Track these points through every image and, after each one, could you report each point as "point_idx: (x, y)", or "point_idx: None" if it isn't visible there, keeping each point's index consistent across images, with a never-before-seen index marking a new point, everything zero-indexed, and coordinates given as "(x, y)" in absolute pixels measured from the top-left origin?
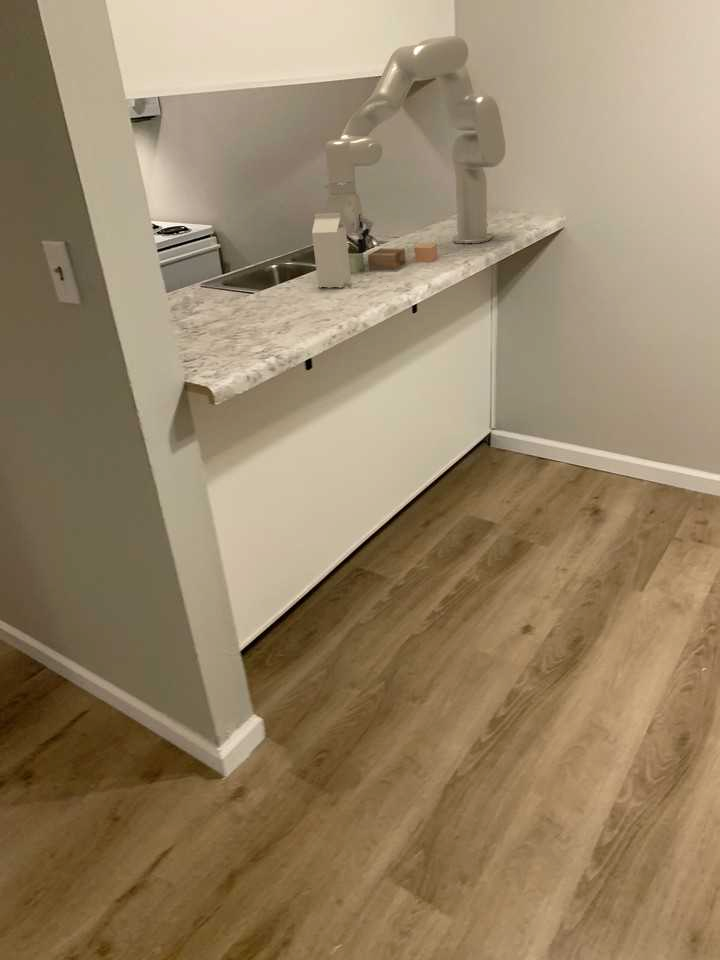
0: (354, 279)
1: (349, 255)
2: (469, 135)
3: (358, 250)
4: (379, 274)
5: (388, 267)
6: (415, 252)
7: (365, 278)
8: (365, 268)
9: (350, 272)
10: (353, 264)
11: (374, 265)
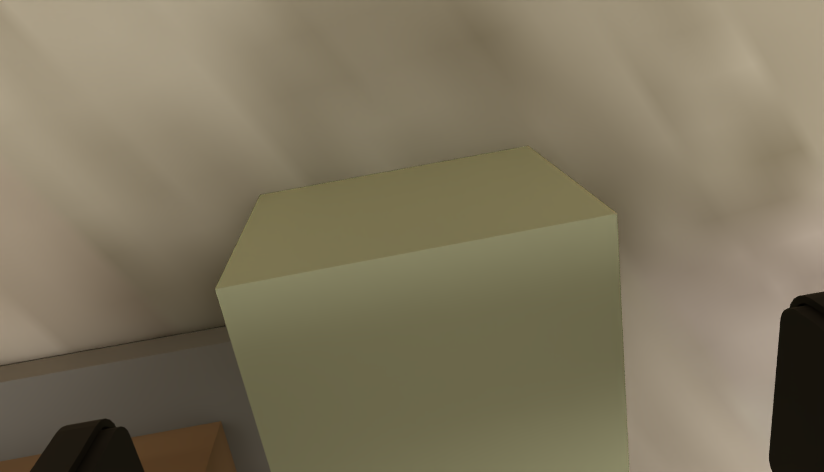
0: (135, 39)
1: (471, 448)
2: None
3: (94, 458)
4: (2, 347)
5: None
6: None
7: (21, 133)
8: None
9: (325, 195)
10: (246, 245)
11: None
